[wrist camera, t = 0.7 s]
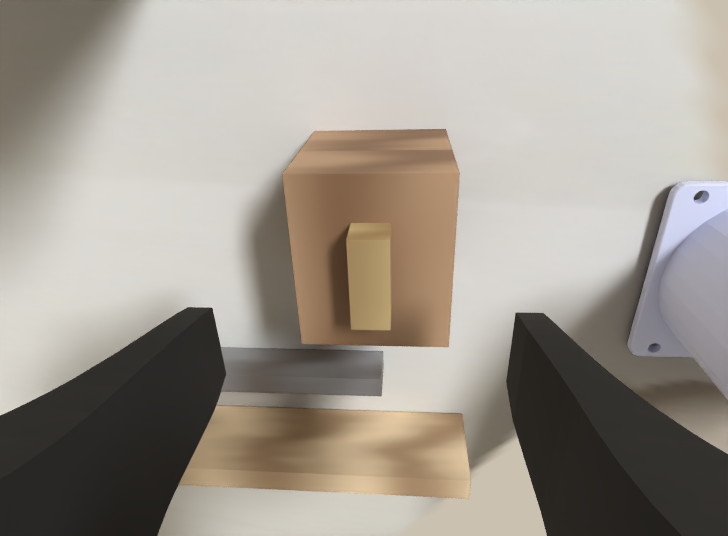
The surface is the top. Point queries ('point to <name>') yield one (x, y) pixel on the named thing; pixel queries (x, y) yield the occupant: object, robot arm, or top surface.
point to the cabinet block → (373, 236)
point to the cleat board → (326, 432)
